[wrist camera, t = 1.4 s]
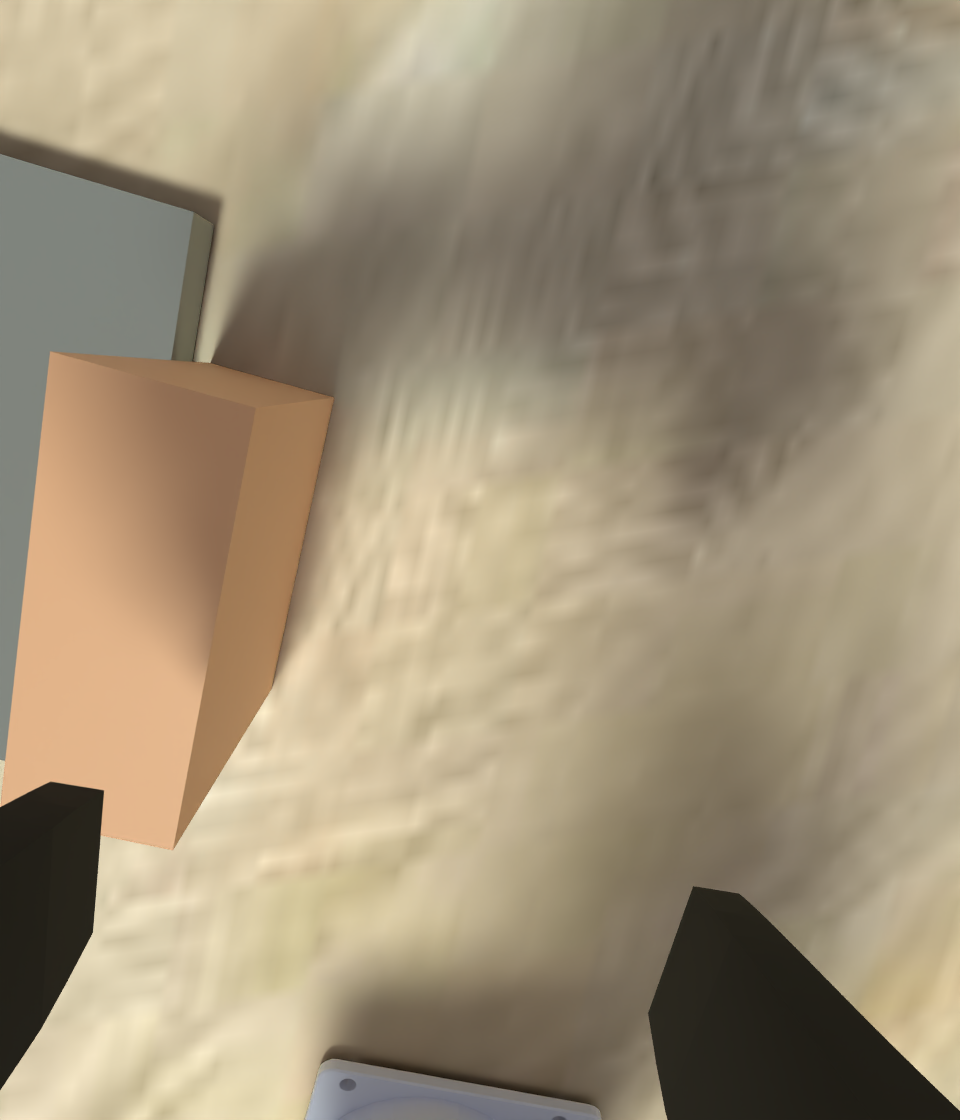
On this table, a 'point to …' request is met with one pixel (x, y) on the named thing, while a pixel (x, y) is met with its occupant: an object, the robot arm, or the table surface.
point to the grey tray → (77, 325)
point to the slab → (156, 579)
